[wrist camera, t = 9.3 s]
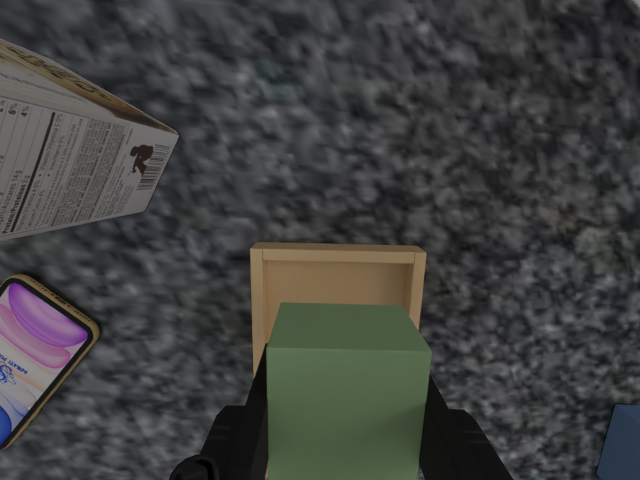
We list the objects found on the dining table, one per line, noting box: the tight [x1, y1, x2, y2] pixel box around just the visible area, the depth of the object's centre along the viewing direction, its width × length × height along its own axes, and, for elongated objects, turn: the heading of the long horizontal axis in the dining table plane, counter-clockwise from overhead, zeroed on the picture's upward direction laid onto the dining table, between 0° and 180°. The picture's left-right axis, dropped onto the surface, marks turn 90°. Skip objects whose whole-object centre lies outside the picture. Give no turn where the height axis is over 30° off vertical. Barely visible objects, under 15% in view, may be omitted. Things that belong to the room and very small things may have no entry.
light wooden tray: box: [250, 242, 426, 477], centre depth 22 cm, size 12×19×2 cm, turn 179°
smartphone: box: [0, 274, 100, 450], centre depth 23 cm, size 8×15×1 cm, turn 138°
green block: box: [266, 302, 432, 480], centre depth 13 cm, size 6×7×4 cm
